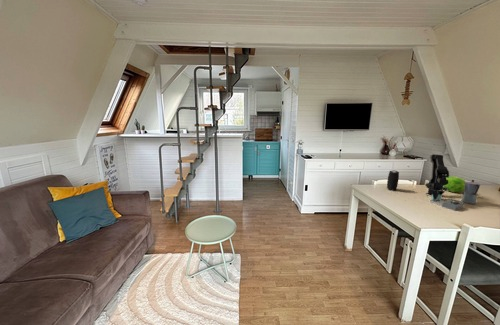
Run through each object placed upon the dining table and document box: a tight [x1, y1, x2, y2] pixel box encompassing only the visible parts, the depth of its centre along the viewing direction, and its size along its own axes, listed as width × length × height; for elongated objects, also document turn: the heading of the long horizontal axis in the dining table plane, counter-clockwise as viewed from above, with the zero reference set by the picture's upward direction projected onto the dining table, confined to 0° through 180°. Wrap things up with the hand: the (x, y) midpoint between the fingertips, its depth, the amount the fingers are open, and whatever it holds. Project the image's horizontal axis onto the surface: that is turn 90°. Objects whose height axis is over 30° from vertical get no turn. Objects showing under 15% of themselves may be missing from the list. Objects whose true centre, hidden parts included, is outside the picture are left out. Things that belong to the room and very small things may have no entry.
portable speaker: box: [386, 170, 400, 191], centre depth 205 cm, size 9×9×20 cm
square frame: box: [429, 198, 464, 211], centre depth 168 cm, size 12×17×6 cm
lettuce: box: [443, 176, 466, 193], centre depth 201 cm, size 17×20×15 cm
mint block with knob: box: [430, 194, 443, 200], centre depth 179 cm, size 5×5×6 cm
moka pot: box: [460, 179, 481, 205], centre depth 172 cm, size 10×15×20 cm, turn 161°
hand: (435, 198), depth 180 cm, fingers closed on mint block with knob, 5 cm apart
